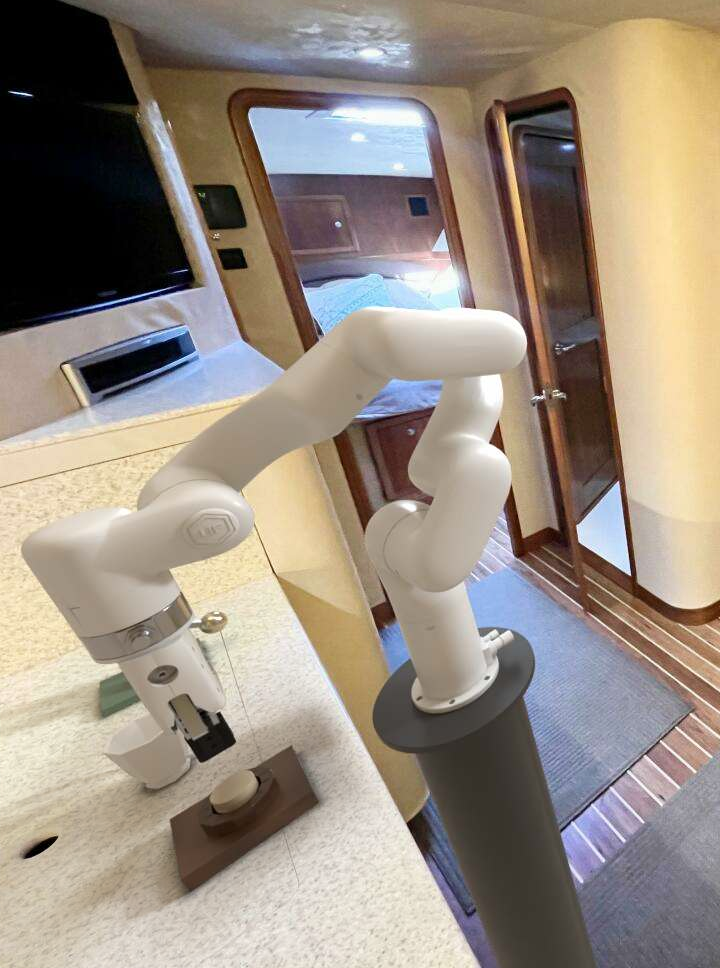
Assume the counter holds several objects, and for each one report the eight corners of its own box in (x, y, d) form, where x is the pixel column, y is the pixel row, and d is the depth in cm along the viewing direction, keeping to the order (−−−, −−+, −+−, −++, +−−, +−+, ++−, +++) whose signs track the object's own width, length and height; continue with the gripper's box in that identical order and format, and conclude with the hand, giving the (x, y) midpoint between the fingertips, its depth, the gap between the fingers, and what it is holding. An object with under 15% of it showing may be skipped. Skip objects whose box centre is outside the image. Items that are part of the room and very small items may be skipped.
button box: (297, 755, 72) (287, 734, 70) (319, 802, 65) (308, 780, 64) (177, 831, 63) (162, 809, 62) (189, 892, 57) (172, 869, 56)
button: (255, 773, 66) (249, 763, 65) (262, 793, 63) (256, 783, 63) (213, 799, 63) (206, 789, 62) (219, 821, 60) (212, 811, 60)
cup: (141, 810, 66) (109, 765, 63) (118, 773, 71) (88, 730, 68) (212, 763, 72) (186, 719, 69) (186, 731, 77) (161, 689, 74)
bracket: (201, 642, 94) (171, 588, 90) (209, 666, 88) (178, 609, 84) (102, 687, 86) (64, 629, 81) (105, 716, 80) (64, 656, 76)
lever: (222, 627, 94) (228, 607, 94) (226, 636, 91) (232, 615, 91) (110, 636, 83) (117, 613, 83) (111, 646, 81) (119, 623, 81)
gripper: (199, 633, 52) (274, 762, 59) (179, 578, 61) (245, 694, 68) (87, 685, 47) (183, 819, 54) (83, 615, 56) (166, 737, 63)
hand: (218, 749), depth 61 cm, fingers closed
